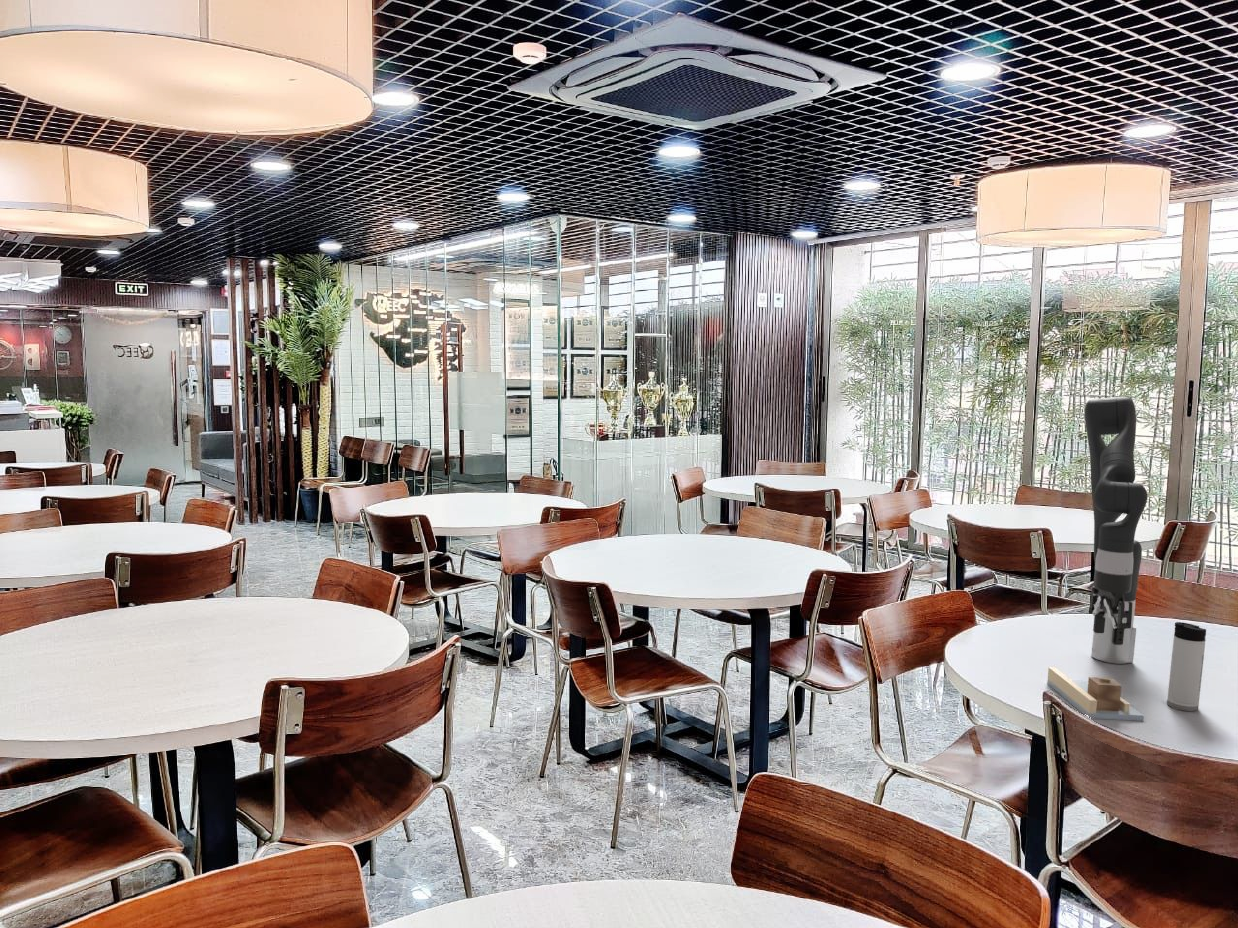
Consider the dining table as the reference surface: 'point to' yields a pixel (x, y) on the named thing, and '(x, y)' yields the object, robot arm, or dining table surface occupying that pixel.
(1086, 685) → the board
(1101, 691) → the walnut box
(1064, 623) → the dining table surface
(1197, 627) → the travel mug
